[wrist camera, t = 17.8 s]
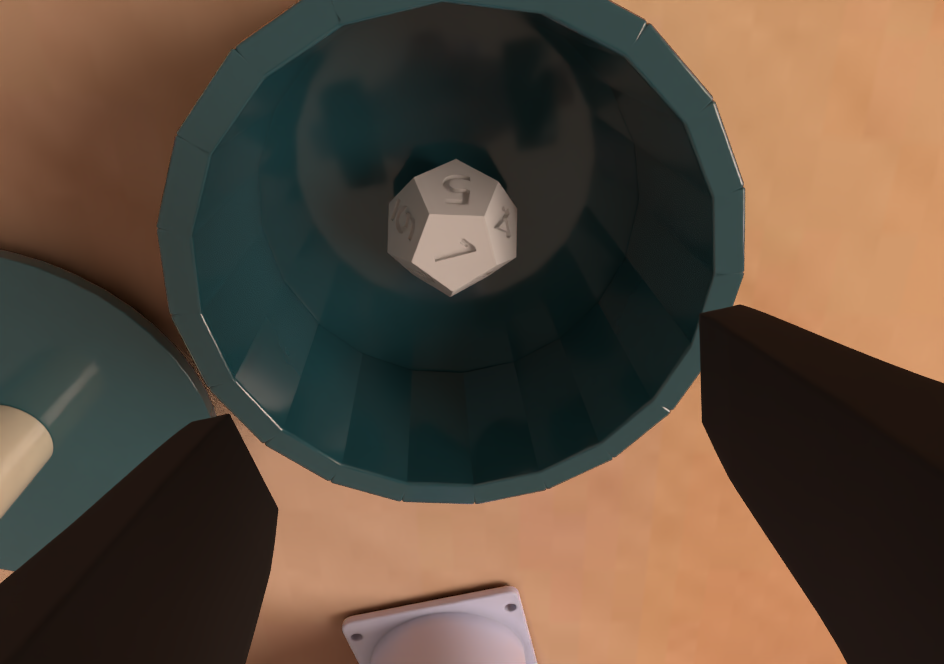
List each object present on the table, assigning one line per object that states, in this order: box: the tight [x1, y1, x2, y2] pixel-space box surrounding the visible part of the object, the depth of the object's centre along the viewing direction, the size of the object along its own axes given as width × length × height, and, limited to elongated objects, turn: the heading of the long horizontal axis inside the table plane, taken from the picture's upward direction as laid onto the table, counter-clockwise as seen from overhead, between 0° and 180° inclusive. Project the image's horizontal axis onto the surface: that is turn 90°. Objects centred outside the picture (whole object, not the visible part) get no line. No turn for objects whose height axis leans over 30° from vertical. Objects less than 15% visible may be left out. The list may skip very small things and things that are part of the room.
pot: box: [157, 0, 745, 504], centre depth 16 cm, size 12×12×6 cm
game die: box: [387, 159, 517, 297], centre depth 17 cm, size 4×4×3 cm
